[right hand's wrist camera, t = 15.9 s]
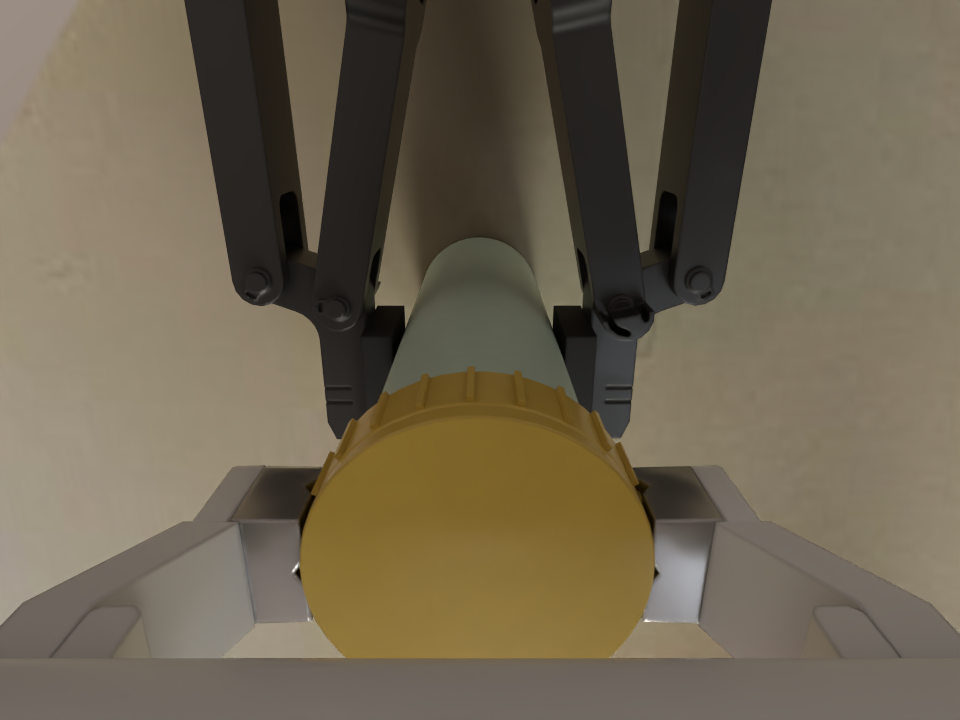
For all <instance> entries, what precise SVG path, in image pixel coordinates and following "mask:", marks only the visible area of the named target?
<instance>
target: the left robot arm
mask: <svg viewBox="0 0 960 720" xmlns="http://www.w3.org/2000/svg"><path fill="white" fill-rule="evenodd" d="M184 1H185V7H186V13H187V19H188V24H189V30H190V36H191V42H192V48H193V54H194V59H195V65H196V71H197V77H198V83H199V89H200V95H201V100H202V106H203V112H204V118H205V124H206V130H207V136H208V141H209V147H210V153H211V159H212V165H213V171H214V176H215V182H216V188H217V194H218V200H219V206H220V212H221V217H222V223H223V229H224V235H225V241H226V247H227V253H228V258H229V264H230V270H231V276H232V282H233V285H234V287H235V290H236V292H237V293H238V294H239V295H240V297H241V298H242V299H243V300H245V301H247V302H248V303H250V304H252V305H258V306H264V305H269V304H272V303H273V304H275V305H278V306H281V307H284V308H287V309H290V310H293V311H296V312H298V313H300V314H303V315H304V316H305V317H307V318H308V319H309V320H310V321H311V322H312V323H313V324H314V325H315V327H316V329H317V331H318V334H319V338H320V346H321V356H322V366H323V376H324V386H325V397H326V402H327V403H326V407H327V417H328V423H329V425H330V427H331V429H332V431H333V432H334V434H335V436H336V438H337V439H342V436H343V434H344V432H345V430H346V427H347V425H348V423H349V421H350V420H351V419H352V418H354V419H355V420H356V421H358V420H359V419H360V418H361V417H362V416H363V415H364V414H365V413H366V412H367V411H368V410H369V409H370V408H372V407H373V406H374V405H375V404H377V403H378V400H379V398H380V395H381V394H382V392H383V389H384V386H385V383H386V381H387V378H388V375H389V373H390V370H391V367H392V364H393V362H394V359H395V356H396V354H397V351H398V348H399V345H400V343H401V340H402V337H403V335H404V332H405V312H404V306H377V308H376V310H375V298H374V295H375V293H376V292H377V290H378V288H379V286H380V283H381V282H379V281H378V279H379V272H380V266H381V260H382V254H383V248H384V242H385V236H386V230H387V224H388V217H389V211H390V205H391V199H392V193H393V187H394V181H395V175H396V168H397V162H398V156H399V150H400V144H401V138H402V132H403V126H404V120H405V113H406V107H407V101H408V95H409V89H410V83H411V77H412V71H413V65H414V58H415V53H416V48H417V44H418V41H419V38H420V34H421V29H422V24H423V18H424V12H425V6H426V0H345V4H346V13H347V23H346V32H345V40H344V48H343V56H342V64H341V72H340V80H339V88H338V96H337V104H336V112H335V120H334V128H333V136H332V144H331V151H330V159H329V167H328V175H327V183H326V191H325V199H324V207H323V215H322V223H321V231H320V239H319V247H318V254H317V253H314V252H311V251H309V250H308V243H307V235H306V226H305V218H304V210H303V202H302V194H301V186H300V178H299V170H298V162H297V154H296V145H295V137H294V129H293V121H292V113H291V105H290V97H289V89H288V81H287V73H286V64H285V56H284V48H283V40H282V32H281V24H280V16H279V8H278V0H184ZM531 2H532V8H533V14H534V20H535V25H536V31H537V35H538V39H539V42H540V45H541V49H542V54H543V60H544V66H545V72H546V79H547V85H548V91H549V97H550V103H551V109H552V115H553V121H554V127H555V133H556V139H557V145H558V151H559V157H560V163H561V169H562V175H563V181H564V187H565V194H566V200H567V206H568V212H569V218H570V224H571V230H572V236H573V242H574V248H575V254H576V260H577V266H578V272H579V278H580V284H581V289H582V292H583V307H582V308H581V306H554V311H553V332H554V335H555V338H556V340H557V343H558V346H559V349H560V352H561V355H562V357H563V360H564V363H565V366H566V369H567V372H568V374H569V377H570V380H571V383H572V386H573V389H574V392H575V394H576V397H577V400H578V403H579V404H580V405H581V406H583V407H584V408H585V409H586V410H587V411H588V412H589V413H590V414H591V413H592V412H593V411H594V410H595V411H596V412H597V413H598V414H599V416H600V418H601V421H602V423H603V425H604V428H605V430H606V431H607V432H608V434H609V435H610V436H611V438H621V436H622V434H623V433H624V431H625V429H626V427H627V425H628V423H629V421H630V411H631V400H632V390H633V389H632V386H633V380H634V369H635V359H636V349H637V339H638V338H641V337H642V336H643V335H644V334H646V333H647V332H648V331H649V329H650V328H651V326H652V324H653V322H654V314H656V313H658V312H660V311H662V310H665V309H668V308H671V307H674V306H677V305H680V304H683V303H686V304H691V305H695V306H696V305H702V304H706V303H708V302H709V301H711V300H713V299H714V298H715V297H716V296H717V295H718V294H719V293H720V291H721V289H722V287H723V284H724V281H725V275H726V269H727V263H728V257H729V251H730V245H731V239H732V233H733V228H734V222H735V216H736V210H737V204H738V198H739V192H740V186H741V180H742V174H743V168H744V163H745V157H746V151H747V145H748V139H749V133H750V127H751V121H752V115H753V109H754V103H755V98H756V92H757V86H758V80H759V74H760V68H761V62H762V56H763V50H764V44H765V38H766V32H767V27H768V21H769V15H770V9H771V3H772V0H679V8H678V17H677V25H676V33H675V41H674V49H673V58H672V66H671V74H670V82H669V90H668V99H667V107H666V115H665V123H664V131H663V140H662V148H661V156H660V164H659V172H658V181H657V189H656V197H655V205H654V213H653V222H652V230H651V238H650V246H649V250H648V251H645V252H642V253H640V250H639V242H638V234H637V227H636V219H635V211H634V203H633V195H632V187H631V179H630V172H629V164H628V156H627V148H626V140H625V132H624V125H623V117H622V109H621V101H620V93H619V85H618V77H617V70H616V62H615V54H614V46H613V38H612V30H611V18H610V14H611V5H612V0H531Z"/></svg>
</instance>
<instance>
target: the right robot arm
mask: <svg viewBox="0 0 960 720" xmlns="http://www.w3.org/2000/svg"><path fill="white" fill-rule="evenodd" d="M322 468H323V467H295V466H267V467H266V466H265V465H262V466H236V467H233V468H232V469H231V470H230V471H229V473H228V474H227V475H226V477H225V478H224V479H223V481H222V482H221V483H220V485H219V486H218V488H217V489H216V490H215V492H214V493H213V494H212V496H211V497H210V498H209V500H208V501H207V503H206V504H205V505H204V507H203V508H202V509H201V511H200V512H199V513H198V515H197V516H196V518H195V519H194V520H193V522H181V523H179V524H177V525H175V526H173V527H171V528H169V529H167V530H165V531H163V532H161V533H159V534H158V535H156V536H154V537H152V538H150V539H148V540H146V541H144V542H142V543H140V544H138V545H136V546H134V547H132V548H130V549H128V550H126V551H124V552H122V553H120V554H118V555H116V556H114V557H112V558H110V559H108V560H106V561H104V562H102V563H100V564H98V565H96V566H94V567H92V568H90V569H88V570H86V571H85V572H83V573H81V574H79V575H77V576H75V577H73V578H71V579H69V580H67V581H65V582H63V583H61V584H59V585H57V586H55V587H53V588H51V589H49V590H47V591H45V592H43V593H41V594H39V595H37V596H35V597H33V598H31V599H29V600H27V601H25V602H23V603H22V604H21V605H20V606H19V607H18V608H17V609H16V610H15V611H14V612H13V613H12V614H11V616H10V617H9V618H8V619H7V620H6V621H5V622H4V623H3V624H2V625H1V626H0V720H960V634H959V633H958V632H957V631H956V630H955V629H954V628H953V627H952V626H951V625H950V624H949V622H948V621H947V620H946V619H945V618H944V617H943V616H942V615H941V614H940V613H939V612H938V611H937V610H936V609H935V608H934V607H933V605H932V604H930V603H928V602H926V601H925V600H923V599H921V598H919V597H917V596H915V595H913V594H911V593H909V592H907V591H905V590H903V589H901V588H899V587H897V586H895V585H893V584H891V583H889V582H888V581H886V580H884V579H882V578H880V577H878V576H876V575H874V574H872V573H870V572H868V571H866V570H864V569H862V568H860V567H858V566H856V565H854V564H852V563H851V562H849V561H847V560H845V559H843V558H841V557H839V556H837V555H835V554H833V553H831V552H829V551H827V550H825V549H823V548H821V547H819V546H817V545H815V544H814V543H812V542H810V541H808V540H806V539H804V538H802V537H800V536H798V535H796V534H794V533H792V532H790V531H788V530H786V529H784V528H782V527H780V526H778V525H776V524H775V523H773V522H761V520H760V519H759V518H758V516H757V515H756V514H755V512H754V511H753V509H752V508H751V507H750V505H749V504H748V503H747V501H746V500H745V498H744V497H743V496H742V494H741V493H740V492H739V490H738V489H737V487H736V486H735V485H734V483H733V482H732V480H731V479H730V478H729V476H728V475H727V474H726V472H725V471H724V469H723V468H722V467H720V466H717V465H711V466H678V467H637V468H633V471H634V473H635V475H636V477H637V480H638V482H639V484H638V485H636V486H634V487H635V489H636V490H637V491H639V492H640V493H641V495H642V497H643V498H642V505H643V508H644V510H645V513H646V515H647V518H648V520H649V523H650V526H651V531H652V535H653V540H654V547H655V571H654V580H653V585H652V589H651V592H650V596H649V600H648V602H647V605H646V607H645V609H644V612H643V614H642V616H641V618H642V621H643V622H669V623H699V627H701V628H702V629H703V630H704V631H705V632H706V633H707V634H708V635H709V636H710V637H711V638H713V639H714V640H715V641H716V642H717V643H718V644H719V645H720V646H721V647H722V648H723V649H725V650H726V651H727V652H728V653H729V654H730V655H731V656H732V657H733V658H221V657H222V656H223V655H224V654H225V653H226V652H228V651H229V650H230V649H231V648H232V647H233V646H234V645H235V644H236V643H237V642H239V641H240V640H241V639H242V638H243V637H244V636H245V635H246V634H247V633H248V632H250V631H251V630H252V629H253V628H254V627H255V623H285V622H312V619H313V614H312V612H311V610H310V608H309V606H308V603H307V600H306V597H305V593H304V590H303V587H302V581H301V574H300V544H301V538H302V532H303V528H304V525H305V522H306V519H307V516H308V514H309V511H310V508H311V506H312V504H313V501H314V499H315V497H316V496H314V495H312V494H311V492H312V489H313V487H314V485H315V483H316V481H317V479H318V476H319V474H320V472H321V470H322Z"/></svg>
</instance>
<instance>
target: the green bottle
mask: <svg viewBox="0 0 960 720" xmlns="http://www.w3.org/2000/svg"><path fill="white" fill-rule="evenodd" d="M470 366H475V372H478V371H487V372H496V373H506V374H511V375H513V374H514V371H515V370H517V371H521V372H522V377H524V378H528V379H531V380H534V381H536V382H539V383H542V384H545V385H547V386H550V387H552V388H553V389H555V390H556V388H557V386H558V385H559V386H561V387H563V388H564V389H565V392H566V395H567V396H568V397H570V398H571V399H573V400H574V401H575V402H577V403H578V400H577V397H576V394H575V392H574V389H573V386H572V383H571V380H570V377H569V374H568V372H567V369H566V366H565V363H564V360H563V357H562V355H561V352H560V349H559V346H558V343H557V340H556V338H555V335H554V332H553V329H552V326H551V323H550V321H549V318H548V315H547V312H546V309H545V306H544V304H543V301H542V298H541V295H540V292H539V289H538V287H537V284H536V281H535V278H534V275H533V273H532V270H531V268H530V267H529V265H528V263H527V262H526V260H525V259H524V258H523V257H522V256H521V255H520V254H519V253H518V252H517V251H516V250H515V249H513V248H512V247H511V246H509V245H507V244H505V243H503V242H501V241H498V240H495V239H491V238H483V237H479V238H468V239H464V240H461V241H458V242H456V243H453V244H452V245H450V246H448V247H447V248H445V249H444V250H443V251H441V252H440V253H439V254H438V255H437V256H436V257H435V259H434V260H433V261H432V263H431V264H430V266H429V268H428V270H427V272H426V275H425V278H424V280H423V283H422V286H421V288H420V291H419V294H418V297H417V299H416V302H415V305H414V307H413V310H412V313H411V316H410V318H409V321H408V324H407V326H406V329H405V332H404V335H403V337H402V340H401V343H400V345H399V348H398V351H397V354H396V356H395V359H394V362H393V364H392V367H391V370H390V373H389V375H388V378H387V381H386V383H385V386H384V389H383V392H385V391H387V393H388V394H389V395H390V394H392V393H394V392H396V391H398V390H399V389H401V388H403V387H406V386H408V385H411V384H413V383H416V382H418V381H420V379H421V375H423V374H426V373H428V374H429V377H430V378H432V377H435V376H439V375H444V374H451V373H458V372H467V368H468V367H470ZM383 392H382V393H383ZM578 404H579V403H578Z"/></svg>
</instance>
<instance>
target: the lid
mask: <svg viewBox="0 0 960 720" xmlns="http://www.w3.org/2000/svg"><path fill="white" fill-rule="evenodd" d="M638 484H639V482H638V480H637V477H636V475H635V473H634V471H633V468H632V466H631V464H630V461H629V459H628V457H627V455H626V452H625V450H624V448H623V446H622V444H621V442H619V443H617V444H615V443H614V441H613V440H612V438H611V436H610V435H609V434H608V432H607V431H606V430H605V428H604V425H603V423H602V421H601V418H600V416H599V414H598V413H597V412H596V411H595V410H594V411H593V412H592V413H591V414H590V413H589V412H588V411H587V410H586V409H585V408H584V407H583V406H581V405H580V404H578V403H577V402H575V401H574V400H573V399H571V398H570V397H568V396H567V395H566V392H565V389H564V388H563V387H561V386H559V385H558V386H557V388H556V390H555V389H553V388H552V387H550V386H547V385H545V384H542V383H539V382H536V381H534V380H531V379H528V378H524V377H522V372H521V371H517V370H515V371H514V374H513V375H511V374H506V373H496V372H487V371H478V372H475V366H470V367H468V368H467V372H458V373H451V374H444V375H439V376H435V377H432V378H430V377H429V374H428V373H426V374H423V375H421V379H420V381H418V382H416V383H413V384H411V385H408V386H406V387H403V388H401V389H399V390H398V391H396V392H394V393H392V394H390V395H389V394H388V393H387V391H385V392H383V393H382V394H381V395H380V398H379V400H378V403H377V404H375V405H374V406H373V407H372V408H370V409H369V410H368V411H367V412H366V413H365V414H364V415H363V416H362V417H361V418H360V419H359V420H358V421H356V420H355V419H354V418H352V419H351V420H350V421H349V423H348V425H347V427H346V430H345V432H344V434H343V436H342V439H341V441H340V443H339V445H338V448H337V450H336V452H335V453H333V452H331V451H330V452H329V455H328V457H327V459H326V461H325V463H324V465H323V468H322V470H321V472H320V474H319V476H318V479H317V481H316V483H315V485H314V487H313V489H312V492H311V494H312V495H314V496H316V497H315V499H314V501H313V504H312V506H311V508H310V511H309V514H308V516H307V519H306V522H305V525H304V528H303V532H302V538H301V544H300V574H301V581H302V587H303V590H304V593H305V597H306V600H307V603H308V606H309V608H310V610H311V612H312V614H313V616H314V618H315V620H316V622H317V624H318V625H319V627H320V628H321V630H322V631H323V633H324V634H325V636H326V637H327V638H328V639H329V641H330V642H331V643H332V644H333V645H334V646H335V647H336V648H337V650H338V651H339V652H340V653H341V654H342V655H344V656H345V657H346V658H609V657H610V656H611V655H612V654H613V653H615V652H616V651H617V650H618V649H619V648H620V646H621V645H622V644H623V643H624V642H625V640H626V639H627V638H628V637H629V636H630V634H631V633H632V631H633V630H634V628H635V626H636V625H637V623H638V622H639V620H640V618H641V616H642V614H643V612H644V609H645V607H646V605H647V602H648V600H649V596H650V592H651V589H652V585H653V580H654V571H655V547H654V540H653V535H652V531H651V526H650V523H649V520H648V518H647V515H646V513H645V510H644V508H643V505H642V498H643V497H642V495H641V493H640V492H639V491H637V490H636V489H635V487H634V486H636V485H638Z"/></svg>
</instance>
